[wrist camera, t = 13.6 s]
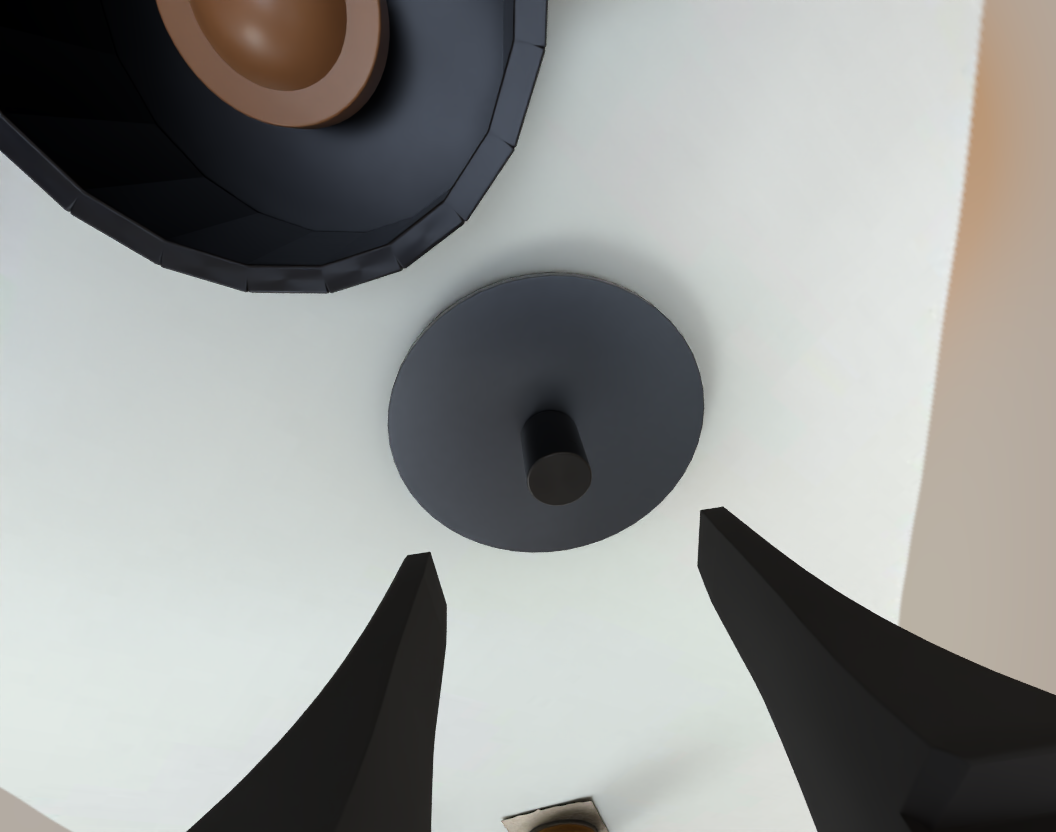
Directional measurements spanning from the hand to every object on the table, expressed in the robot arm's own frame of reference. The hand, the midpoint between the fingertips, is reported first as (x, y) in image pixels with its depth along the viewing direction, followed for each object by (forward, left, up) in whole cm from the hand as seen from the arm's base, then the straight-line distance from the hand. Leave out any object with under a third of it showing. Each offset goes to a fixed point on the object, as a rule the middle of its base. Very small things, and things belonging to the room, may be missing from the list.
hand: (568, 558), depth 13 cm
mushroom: (-3, +14, -9) cm, 17 cm away
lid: (0, -1, -8) cm, 9 cm away
